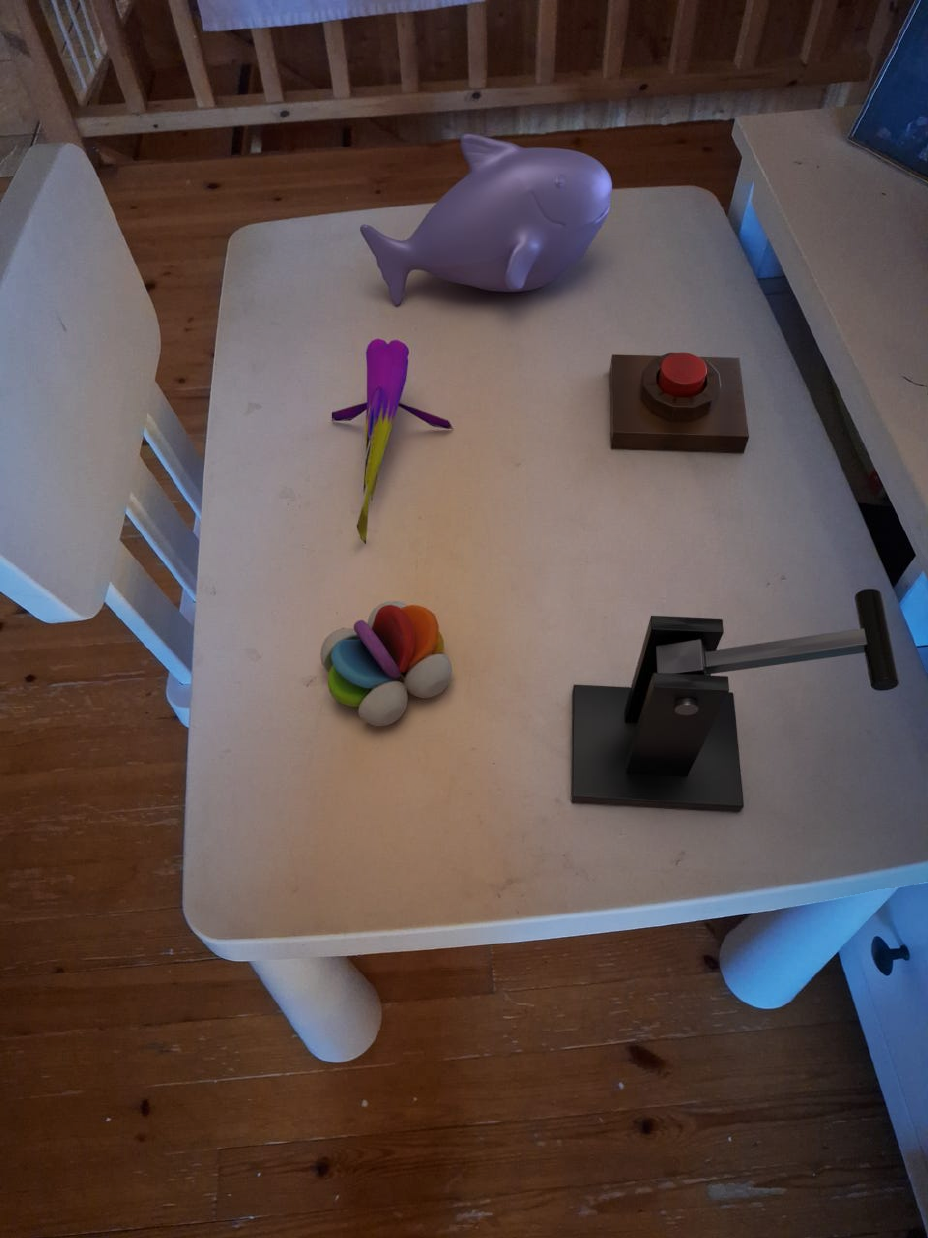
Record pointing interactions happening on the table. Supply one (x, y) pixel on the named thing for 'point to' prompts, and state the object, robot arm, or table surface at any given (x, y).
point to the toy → (382, 410)
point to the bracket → (659, 732)
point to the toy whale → (503, 220)
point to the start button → (682, 375)
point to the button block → (676, 408)
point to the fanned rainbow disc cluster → (386, 661)
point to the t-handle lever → (796, 649)
